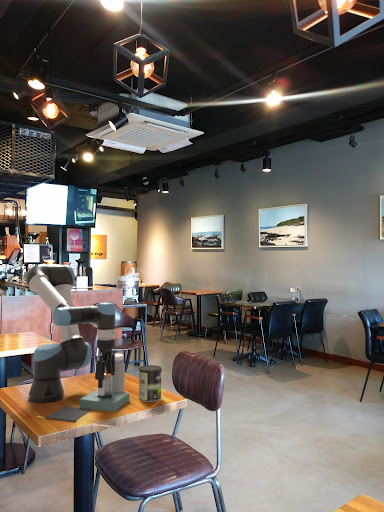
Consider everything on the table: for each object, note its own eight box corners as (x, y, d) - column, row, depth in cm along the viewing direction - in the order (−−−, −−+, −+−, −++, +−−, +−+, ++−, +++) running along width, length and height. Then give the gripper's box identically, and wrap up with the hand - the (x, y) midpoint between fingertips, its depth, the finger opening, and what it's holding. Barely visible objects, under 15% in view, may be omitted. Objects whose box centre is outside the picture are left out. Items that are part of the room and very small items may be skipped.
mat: (45, 418, 158) (45, 416, 158) (65, 407, 170) (65, 405, 170) (75, 422, 154) (75, 420, 154) (92, 410, 167) (92, 409, 167)
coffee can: (163, 396, 187) (164, 365, 187) (157, 403, 177) (158, 371, 177) (142, 394, 189) (143, 364, 189) (135, 401, 179) (135, 369, 179)
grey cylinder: (96, 405, 172) (97, 374, 172) (102, 401, 177) (103, 371, 177) (107, 406, 170) (107, 375, 171) (112, 403, 175) (113, 372, 176)
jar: (99, 395, 187) (99, 356, 188) (110, 389, 196) (111, 352, 197) (117, 397, 184) (117, 358, 184) (128, 391, 193) (128, 353, 193)
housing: (79, 408, 169) (79, 399, 169) (96, 398, 183) (96, 389, 183) (114, 413, 165) (114, 403, 165) (128, 402, 178) (129, 393, 178)
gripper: (102, 343, 164) (101, 400, 164) (123, 335, 182) (122, 387, 182) (86, 341, 166) (85, 398, 166) (108, 334, 185) (107, 385, 184)
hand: (105, 392), depth 174 cm, fingers open, 6 cm apart
